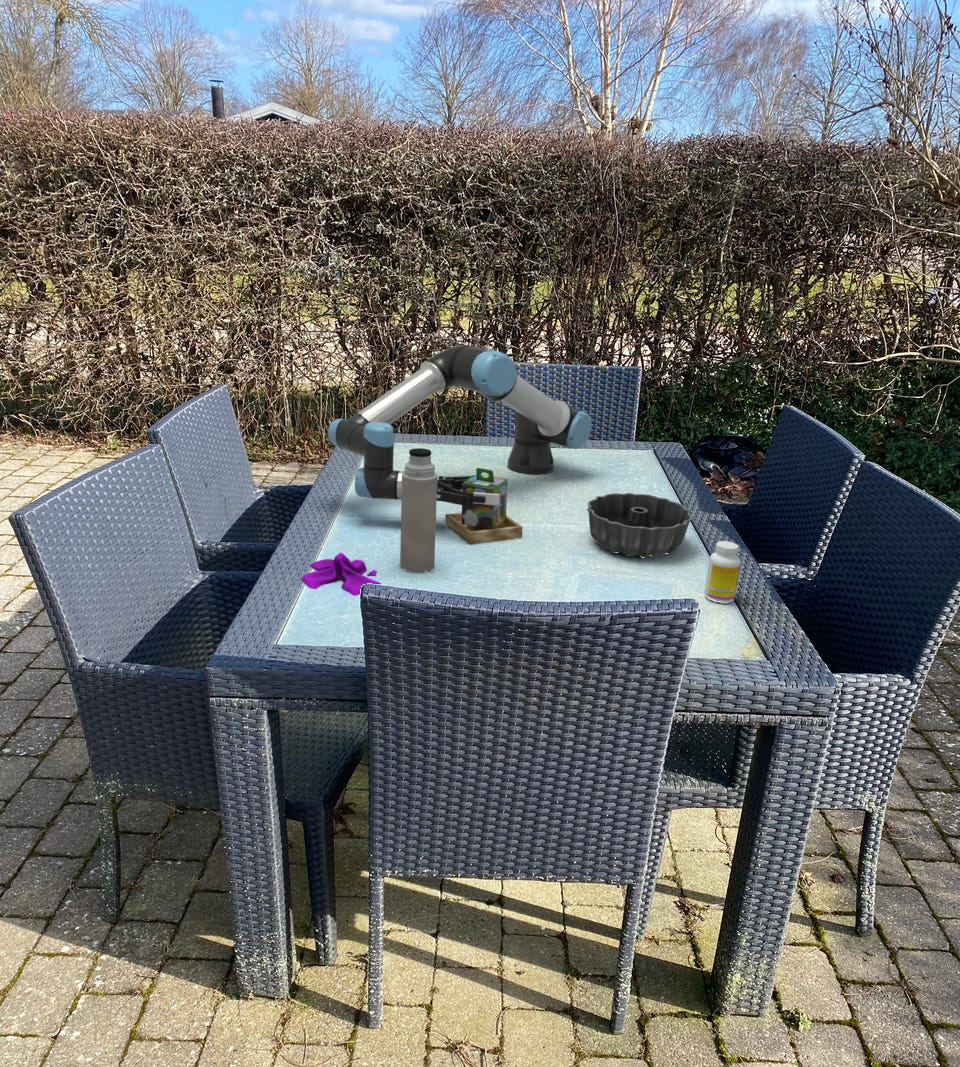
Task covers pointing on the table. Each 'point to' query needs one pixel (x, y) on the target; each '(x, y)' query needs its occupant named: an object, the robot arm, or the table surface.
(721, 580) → the supplement bottle
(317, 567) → the cloth
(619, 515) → the bundt pan
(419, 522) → the thermos bottle
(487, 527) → the chalk box
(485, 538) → the bamboo tray
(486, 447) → the table surface
